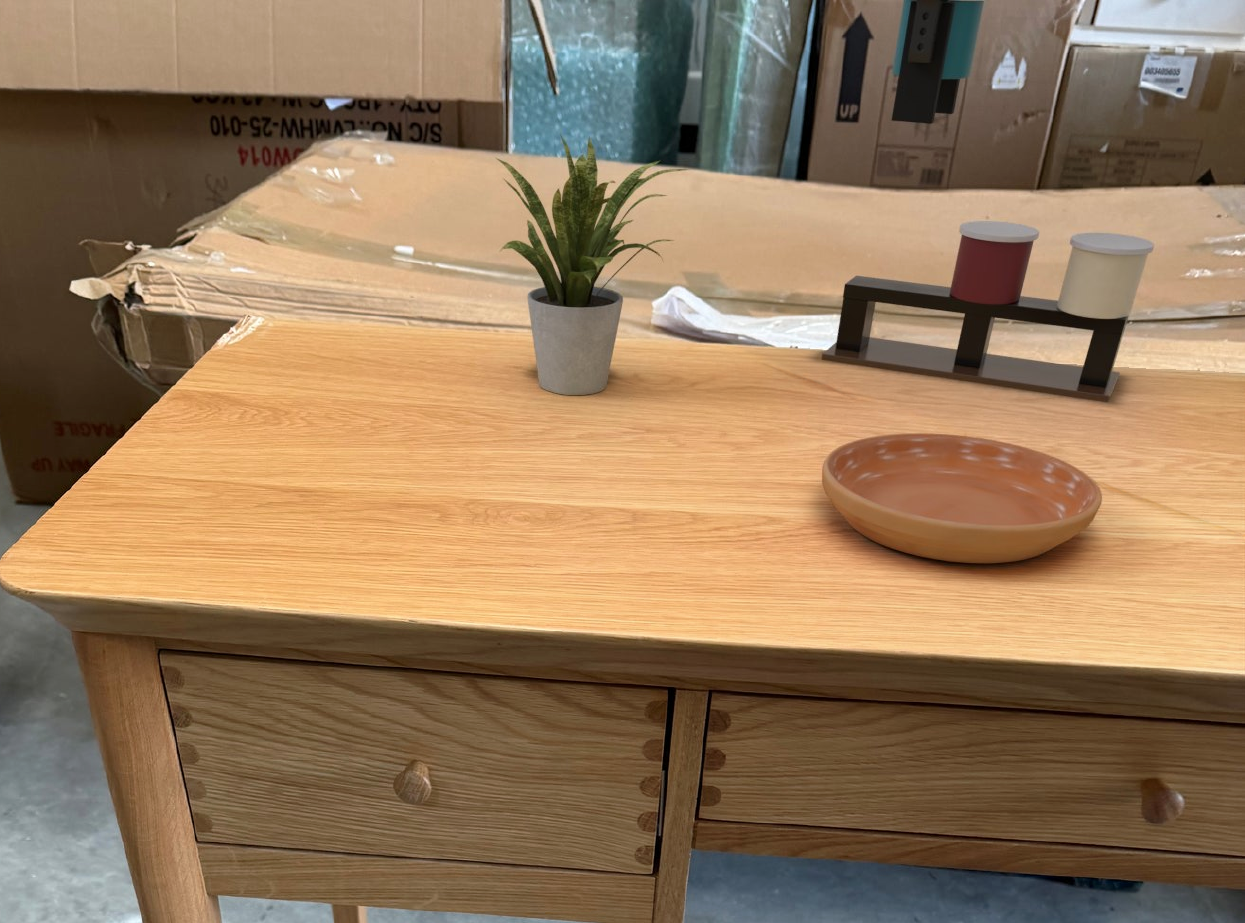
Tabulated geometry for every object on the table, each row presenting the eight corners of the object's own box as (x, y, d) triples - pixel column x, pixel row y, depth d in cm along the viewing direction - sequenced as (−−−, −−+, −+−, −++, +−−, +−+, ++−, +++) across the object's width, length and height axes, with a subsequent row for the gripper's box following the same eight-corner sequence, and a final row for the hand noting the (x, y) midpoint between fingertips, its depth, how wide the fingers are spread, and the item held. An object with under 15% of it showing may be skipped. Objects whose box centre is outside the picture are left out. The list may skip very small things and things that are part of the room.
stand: (1104, 412, 90) (1130, 326, 86) (820, 369, 97) (832, 287, 93) (1115, 388, 95) (1140, 305, 91) (843, 348, 102) (855, 270, 98)
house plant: (709, 408, 89) (735, 148, 78) (533, 426, 85) (536, 154, 74) (630, 356, 99) (643, 119, 88) (470, 370, 95) (464, 123, 84)
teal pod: (990, 77, 82) (1008, -7, 79) (932, 80, 79) (948, -7, 77) (928, 69, 86) (942, -12, 83) (870, 72, 83) (883, -12, 80)
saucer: (861, 459, 81) (869, 413, 79) (1108, 507, 75) (1123, 459, 73) (777, 541, 70) (784, 490, 68) (1059, 604, 64) (1075, 550, 62)
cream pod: (1149, 313, 89) (1171, 244, 86) (1101, 323, 87) (1122, 252, 84) (1085, 297, 93) (1103, 229, 90) (1037, 306, 90) (1054, 237, 87)
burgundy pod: (1038, 300, 92) (1055, 231, 89) (988, 309, 89) (1004, 239, 86) (980, 284, 95) (994, 218, 92) (930, 292, 93) (944, 225, 90)
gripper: (975, -335, 77) (902, 100, 92) (904, -390, 64) (833, 127, 79) (1097, -340, 75) (1002, 107, 89) (1050, -399, 62) (948, 136, 76)
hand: (923, 115), depth 84 cm, fingers closed on teal pod, 6 cm apart
